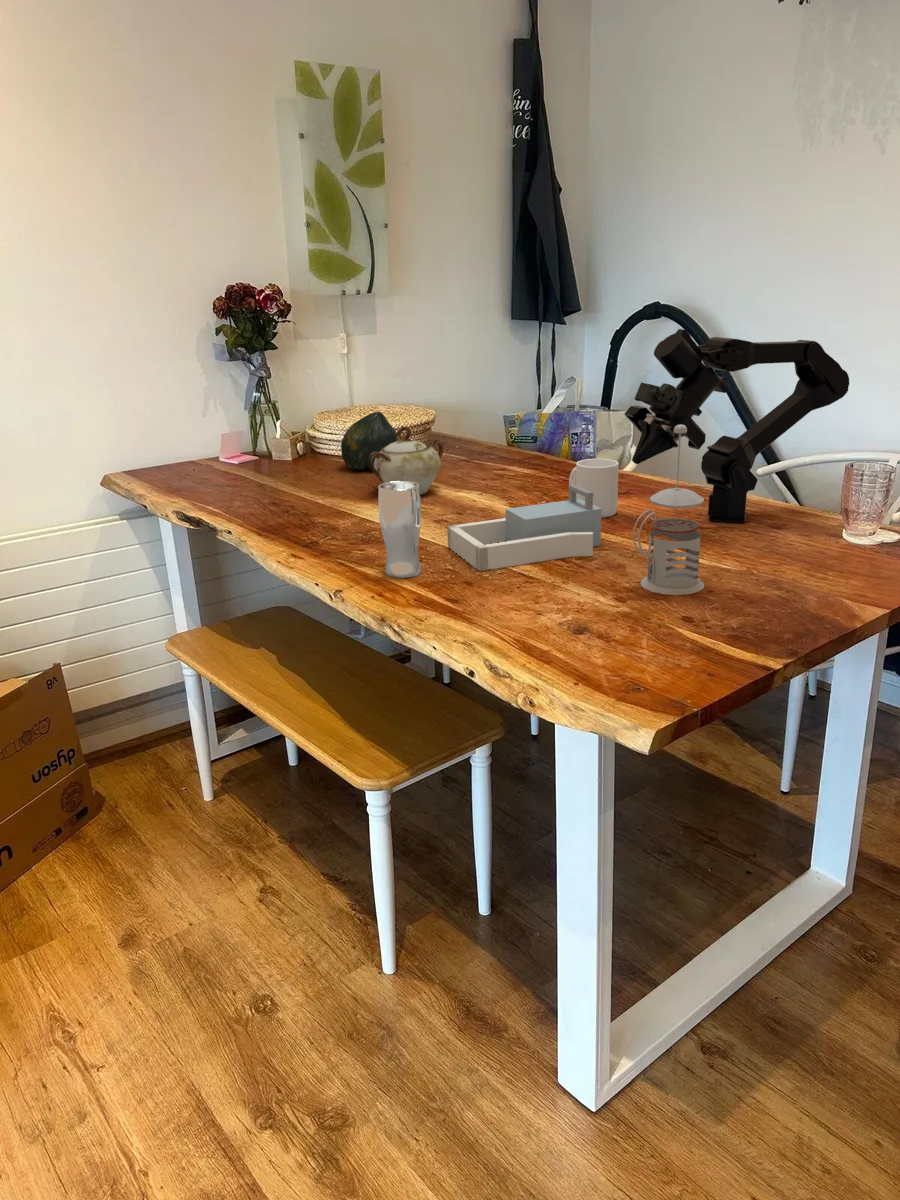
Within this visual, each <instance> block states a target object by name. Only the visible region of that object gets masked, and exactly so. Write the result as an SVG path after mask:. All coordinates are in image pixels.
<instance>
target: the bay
mask: <svg viewBox="0 0 900 1200" xmlns="http://www.w3.org/2000/svg"><path fill="white" fill-rule="evenodd" d="M446 528H447V529H446V530H447V531H446V532H447V548H448V547H449V548H450V549H449V548H448V549H449V550H450V551H452V552H453V551H454V552H453V553H455V554H456V553H457V554H456V555H457V556H459V557H460V556H461V557H460V558H462V559H463V560H464V559H465V560H464V561H466V562H467V563H468V562H469V563H468V564H470V565H471V566H472V567H474V568H475V569H476V568H477V569H476V570H477V571H479V572H481V571H482V572H483V571H489V569H490V570H495V569H501V568H507V567H508V568H509V567H514V566H521V565H526V564H533V563H540V562H545V561H552V560H560V559H565V558H571V557H593V556H594V555H593V553H594V546H593V532H566V533H560V534H553V535H546V536H539V537H533V538H526V539H519V540H513V541H506V517H502V518H497V519H491V520H490V519H489V520H484V521H483V520H482V521H475V522H468V523H461V524H454V525H448V526H446ZM505 541H506V542H505ZM497 542H499V543H497ZM489 543H492V544H489ZM484 544H486V545H484Z"/></svg>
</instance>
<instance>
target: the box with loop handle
mask: <svg viewBox="0 0 900 1200" xmlns="http://www.w3.org/2000/svg"><path fill="white" fill-rule="evenodd" d="M576 493H578V494H580V495H582V496H585V501H583V500H581V499H576ZM505 518H506V541H513V540H519V539H526V538H533V537H539V536H546V535H553V534H560V533H566V532H593V547H599V546H601V544H602V543H601V542H602V541H601V540H602V518H601V508H599V507H597V506H594V505H593V492H591V491H589V490H586V489H584V488H582V487H579V486H577V485H575V484H573V485H569V484H568V499H567V500H561V501H554V502H553V501H552V502H547V503H546V502H545V503H540V504H539V503H538V504H532V505H526V506H525V505H524V506H517V507H511V508H510V507H509V508H505Z"/></svg>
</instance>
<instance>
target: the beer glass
mask: <svg viewBox="0 0 900 1200" xmlns="http://www.w3.org/2000/svg"><path fill="white" fill-rule="evenodd" d="M377 487H378V494H377V495H378V497H377V498H378V518H379V520H378V521H379V524H380V529H381V534H382V537H383V541H384V545H385V551H386V561H385V562H386V563H385V568H384V570H385V575H386V576H387V577H390V578H393V579H409V578H414V577H418V576H419V575H421V573H422V566H421V563H420V562H421V561H420V558H419V541H420V534H421V533H420V531H421V527H422V526H421V525H422V503H421V502H422V501H421V496H420V494H419V485H418V483H416V482H412V481H392V482H386V483H380V484H379V485H378V486H377Z"/></svg>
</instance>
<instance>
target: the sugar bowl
mask: <svg viewBox="0 0 900 1200" xmlns="http://www.w3.org/2000/svg"><path fill="white" fill-rule="evenodd" d="M404 431H406V435H404V436H403V437H402V436H401V434H402V432H404ZM396 433H397V438H398V440H397V441H396V442H394V443H391V444H389V445H388V446H386V447H384V448H382V450H381V451H380V452H376V451H374V452H372V453H371V454H370V455H369V457H368V465H369V467H370V468H369V467H368V468H369V469H370V470H371V472H372V473H374V475H375V476H376V477H377V478H378V481H380V482H381V484H383V483H386V482H392V481H412V482H416V483H418V485H419V494H420V495H421V496H422V495H424V494H426V493H428V492H429V489H430V487H431V485H432V484H433V482H434V481H435V479H436V477H437V476H438V474H439V471H440V469H441V464H442V463H441V458H442V457H443V454H444V445H443V443H442V442H441V441H440V440H438V439H434V440H430V441H428V442H426V443H424V442H421V441H418V440H413V439H412V440H411V439H410V437H412V431H411V429H410V428H409V427H407V426H401V427H400V428H399V429H398V430H397V431H396ZM436 445H437V446H438V452H437V448H436V447H435V446H436ZM374 457H376V458H375V461H374V466H373V459H374Z"/></svg>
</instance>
